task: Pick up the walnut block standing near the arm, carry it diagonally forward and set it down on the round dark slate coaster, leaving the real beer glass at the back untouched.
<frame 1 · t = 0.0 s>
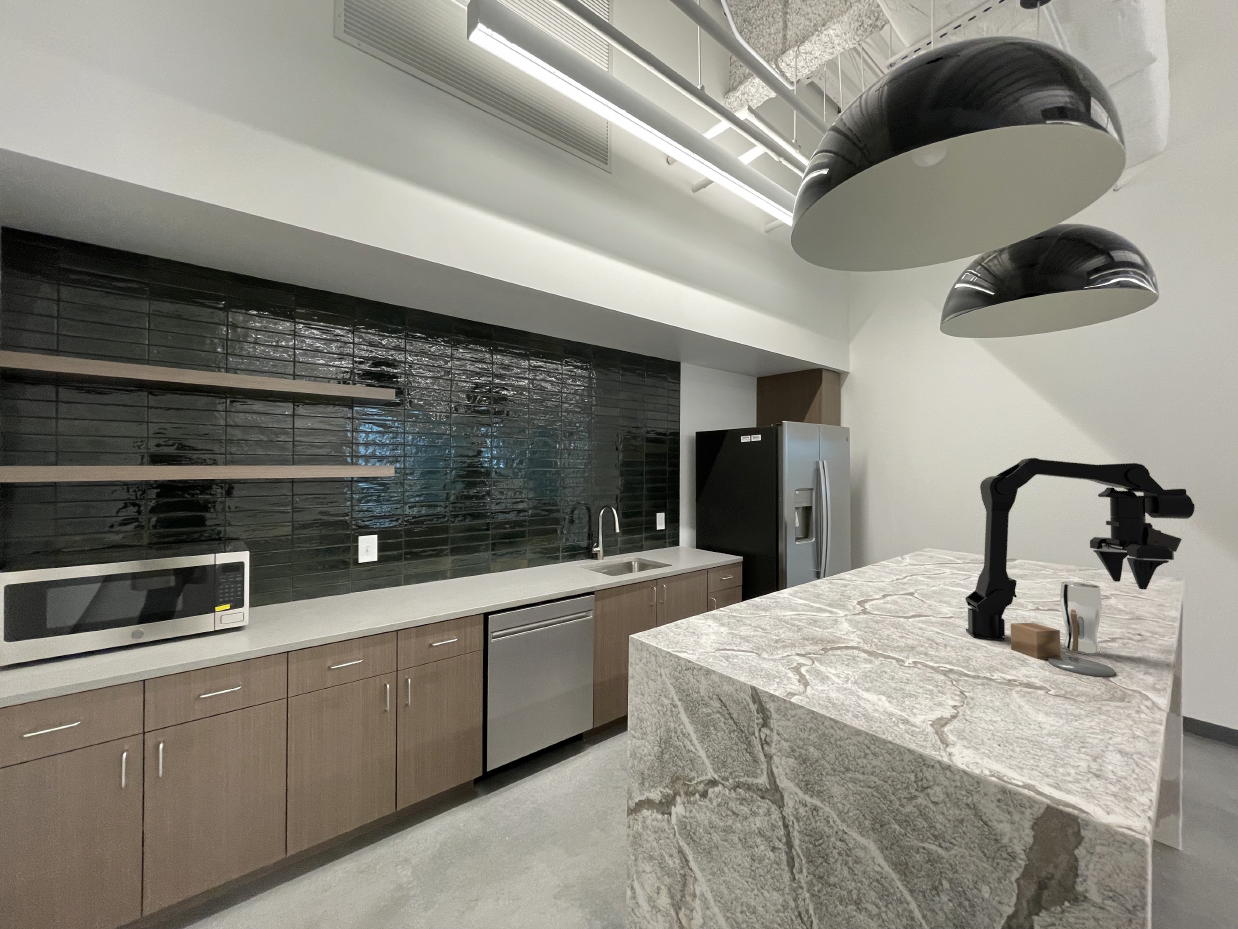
hand: (1129, 585, 115), 15 cm above the countertop, fingers open, 9 cm apart
slate coaster: (1080, 667, 103), on the countertop
beer glass: (1081, 651, 113), on the countertop
walnut block: (1035, 654, 111), on the countertop
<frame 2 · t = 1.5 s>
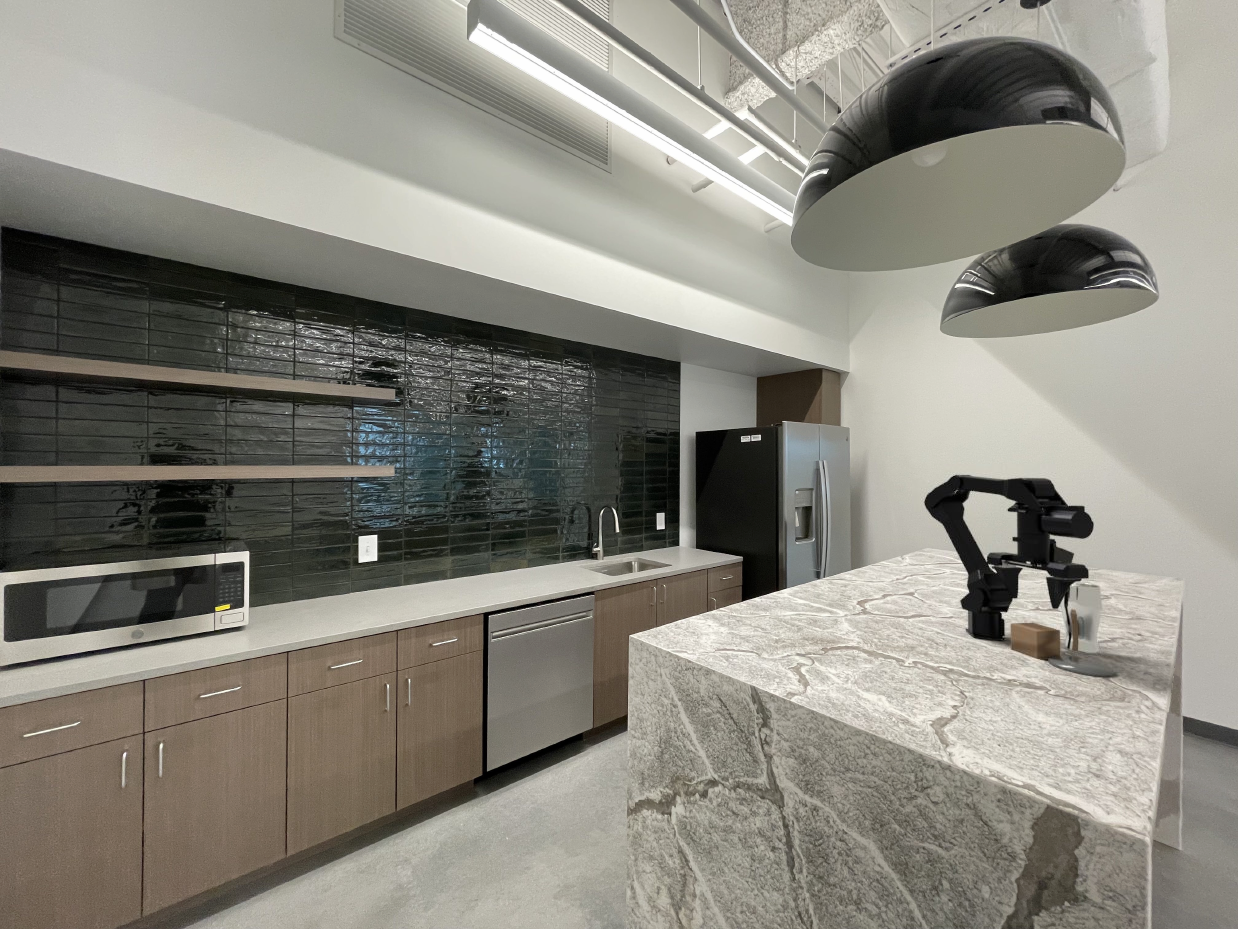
hand: (1034, 603, 111), 11 cm above the countertop, fingers open, 9 cm apart
nothing on the countertop moved.
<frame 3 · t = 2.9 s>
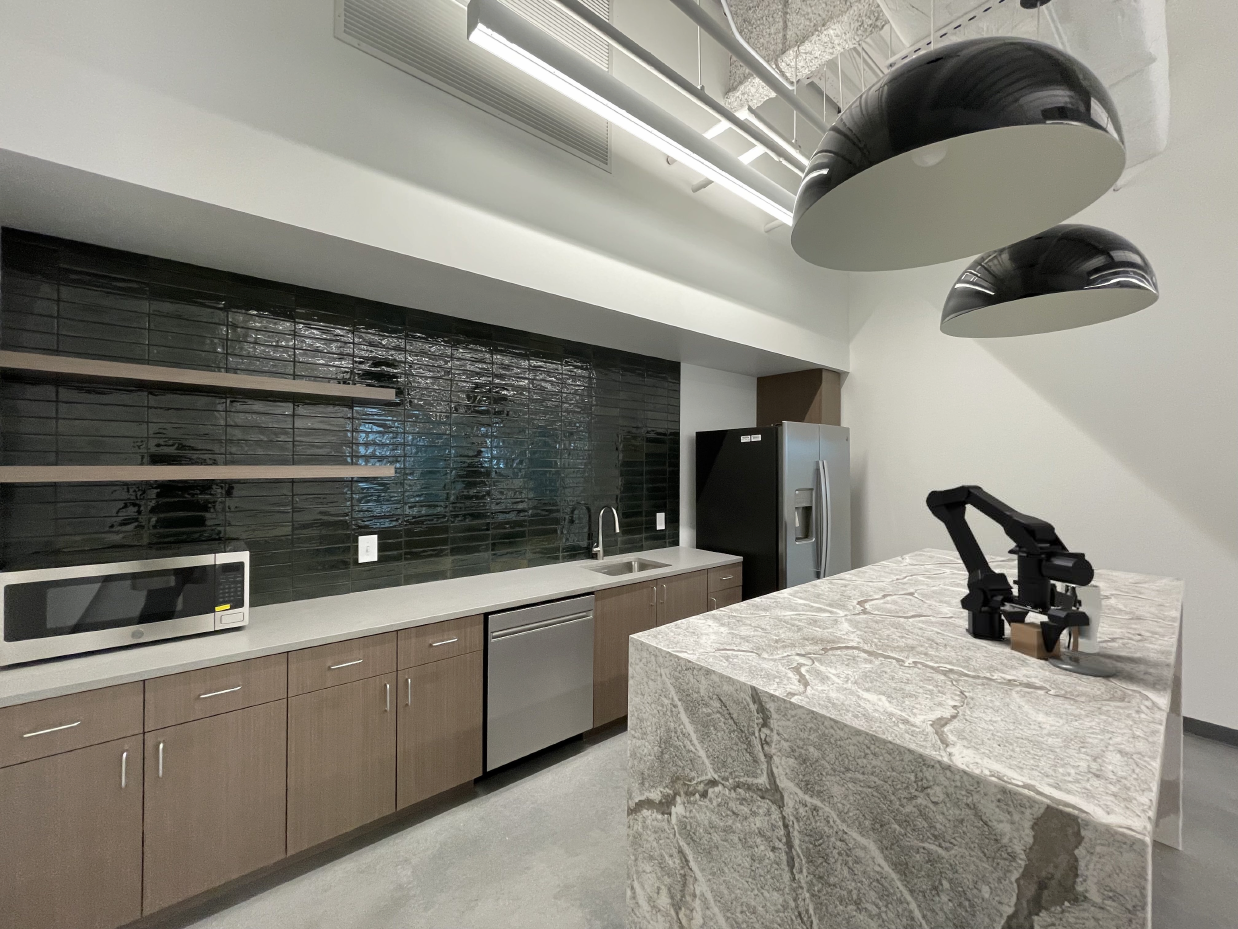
hand: (1035, 647, 111), 1 cm above the countertop, fingers closed on walnut block, 6 cm apart
walnut block: (1035, 653, 111), on the countertop, touching gripper
everything else where it was.
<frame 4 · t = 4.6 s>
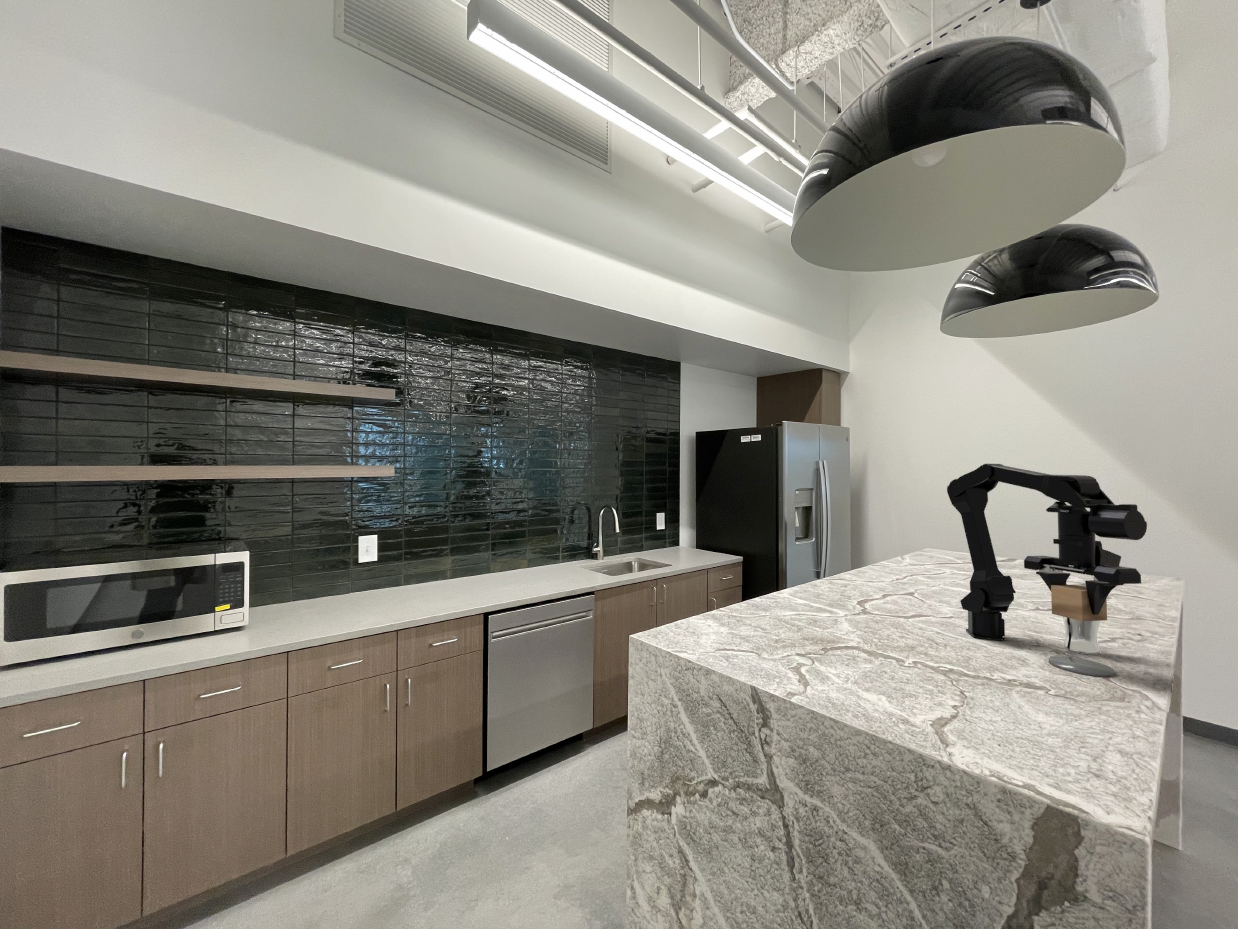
hand: (1078, 610, 103), 12 cm above the countertop, fingers closed on walnut block, 6 cm apart
walnut block: (1078, 617, 103), point 10 cm above the countertop, touching gripper
everything else where it was.
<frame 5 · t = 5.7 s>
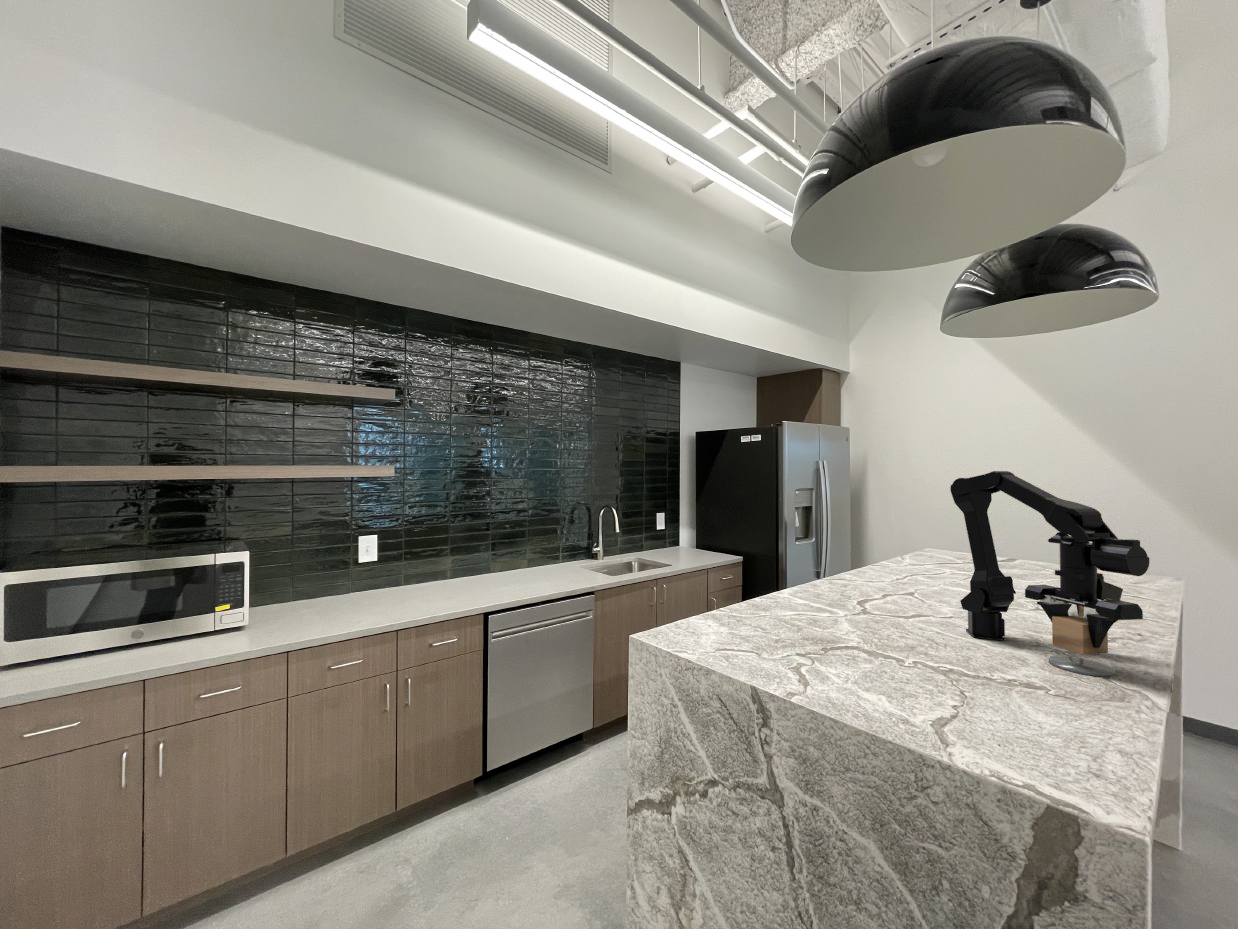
hand: (1079, 642, 103), 5 cm above the countertop, fingers closed on walnut block, 6 cm apart
walnut block: (1079, 649, 103), point 4 cm above the countertop, touching gripper
everything else where it was.
when the fingers open (3 cm above the countertop, at t = 6.5 s): walnut block drops 1 cm, resting on slate coaster.
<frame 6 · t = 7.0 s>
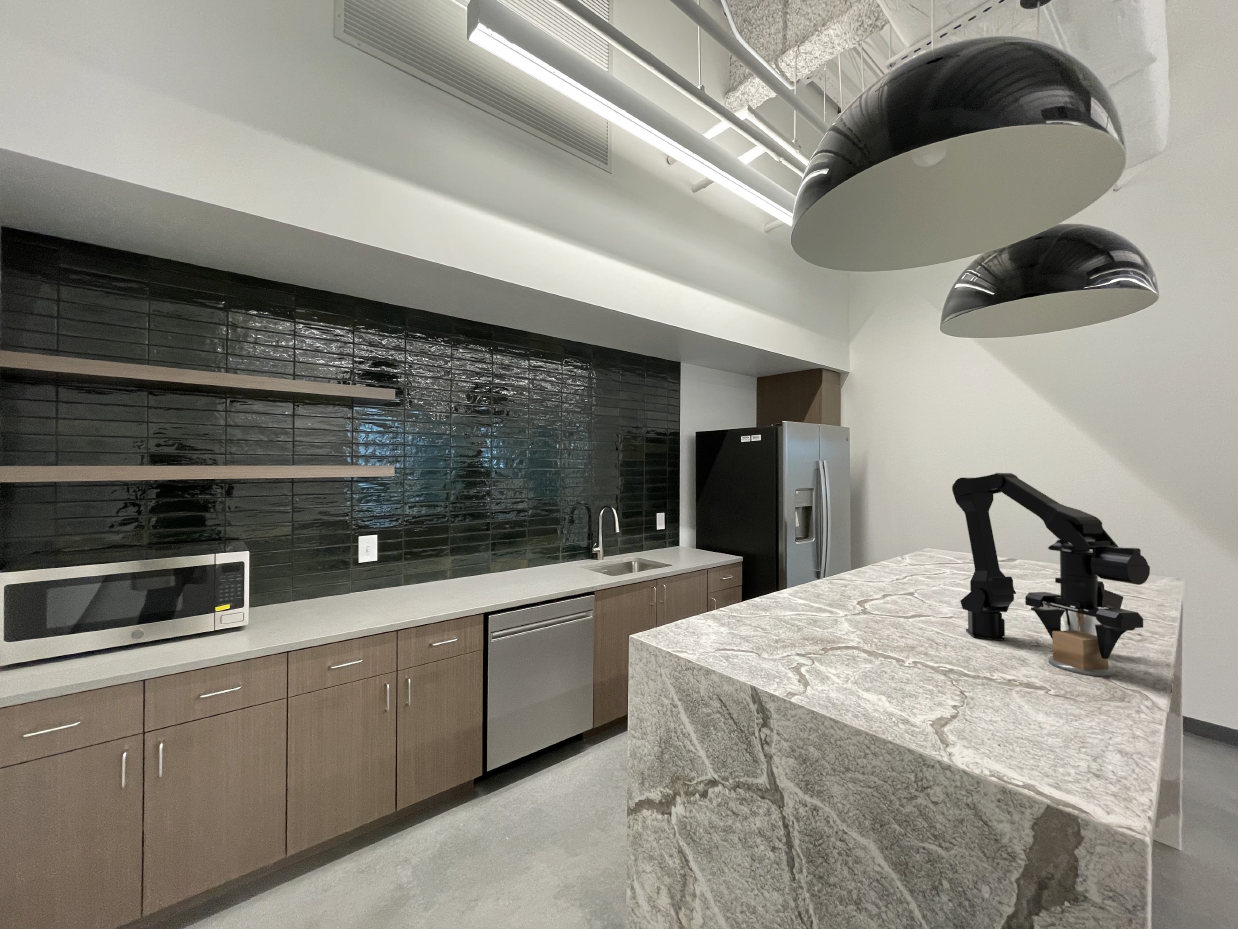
hand: (1080, 650, 103), 3 cm above the countertop, fingers open, 9 cm apart
walnut block: (1080, 664, 103), point 1 cm above the countertop, touching slate coaster
everything else where it was.
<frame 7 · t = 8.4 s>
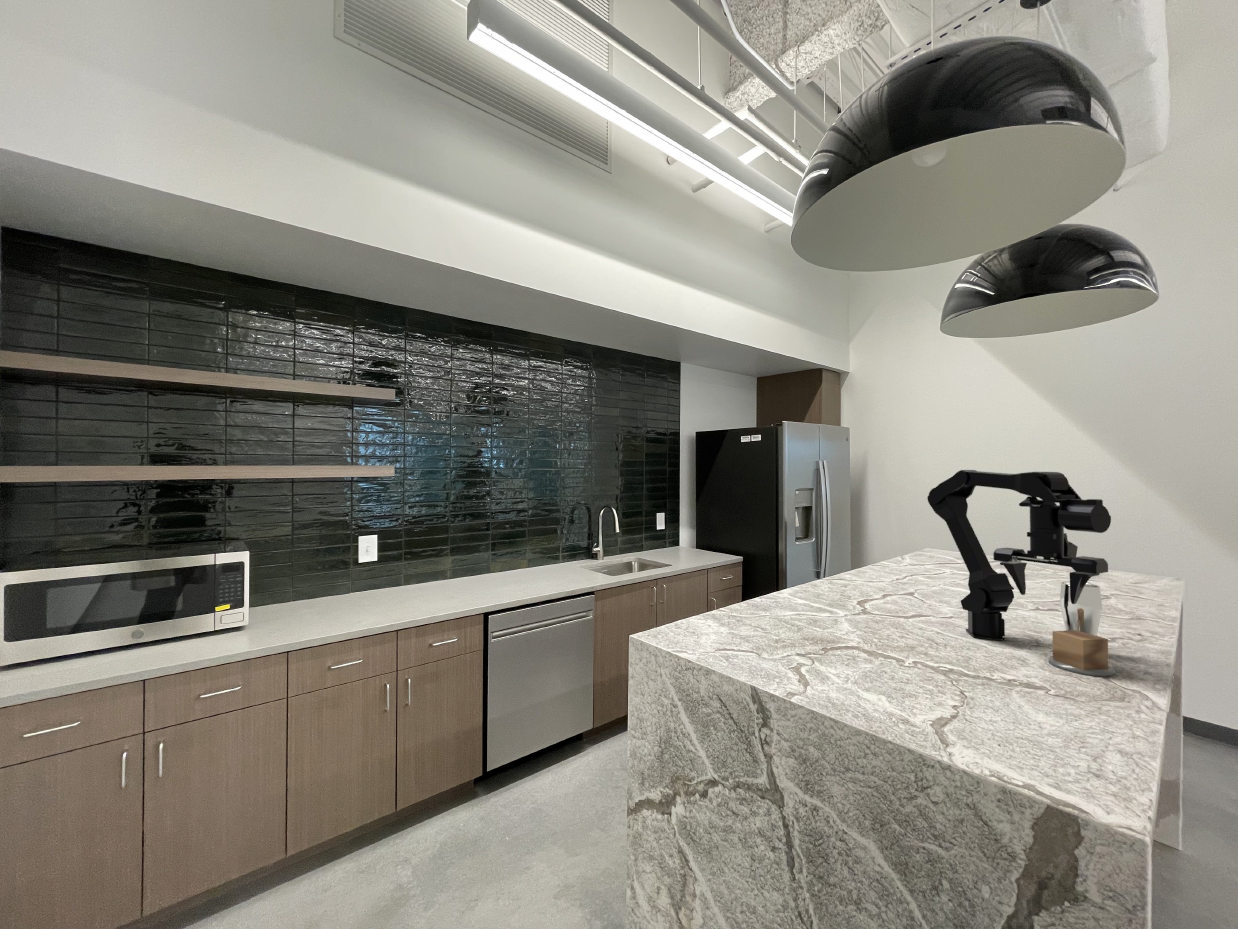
hand: (1047, 599, 110), 12 cm above the countertop, fingers open, 9 cm apart
nothing on the countertop moved.
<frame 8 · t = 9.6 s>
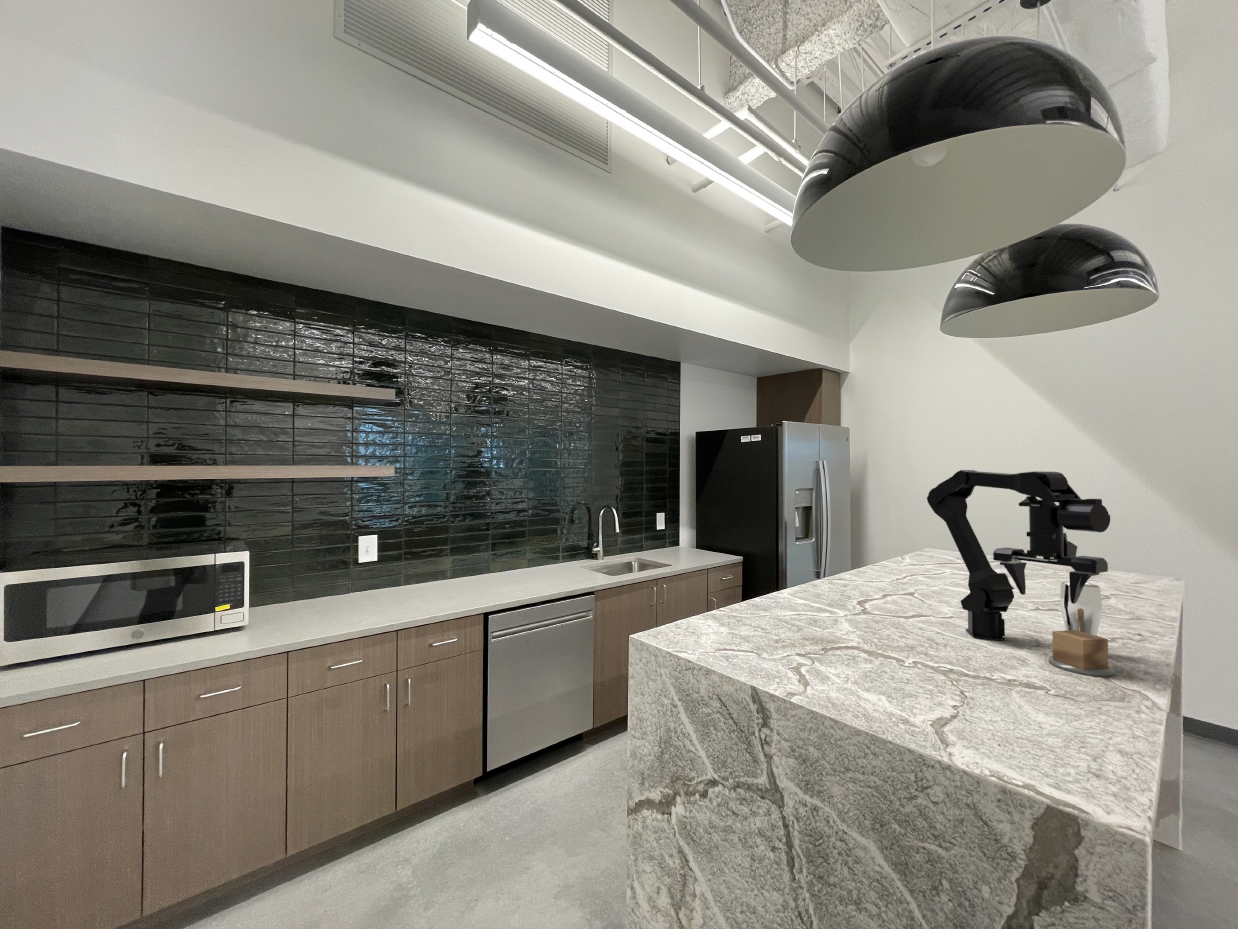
hand: (1047, 598, 110), 13 cm above the countertop, fingers open, 9 cm apart
nothing on the countertop moved.
at the end: walnut block inside the target area on the slate coaster (0.1 cm from its centre), point 0.6 cm above the slate coaster's base; walnut block tilted 0°; the gripper is holding nothing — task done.
